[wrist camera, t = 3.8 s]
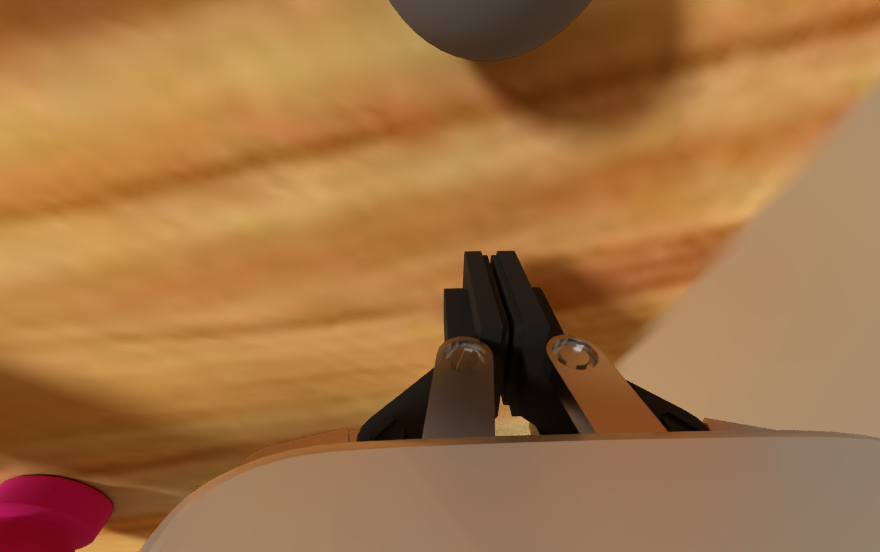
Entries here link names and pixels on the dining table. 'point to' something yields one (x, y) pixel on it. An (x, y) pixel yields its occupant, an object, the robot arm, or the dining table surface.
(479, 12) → the dark gray ball
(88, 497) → the pepper mill
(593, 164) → the dining table surface
